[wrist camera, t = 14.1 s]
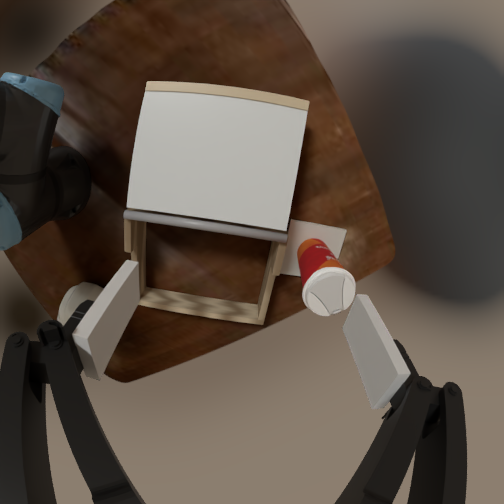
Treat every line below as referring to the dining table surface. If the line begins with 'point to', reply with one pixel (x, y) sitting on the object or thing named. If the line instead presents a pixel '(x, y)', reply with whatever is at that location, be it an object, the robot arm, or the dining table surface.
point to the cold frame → (199, 304)
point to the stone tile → (308, 230)
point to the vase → (77, 299)
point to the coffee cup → (324, 279)
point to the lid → (216, 157)
